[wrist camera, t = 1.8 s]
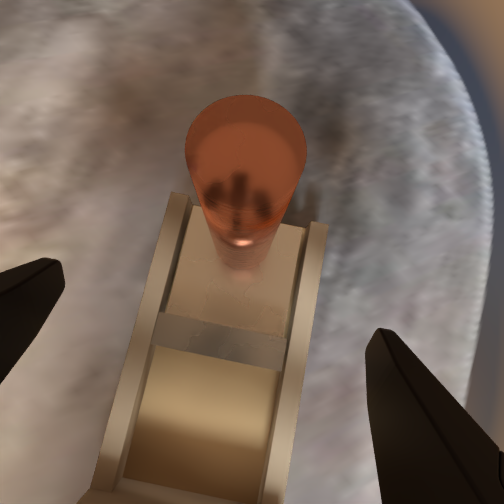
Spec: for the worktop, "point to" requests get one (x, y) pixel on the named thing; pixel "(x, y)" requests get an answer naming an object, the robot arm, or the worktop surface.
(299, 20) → the worktop surface
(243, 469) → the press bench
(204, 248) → the knobbed slide block
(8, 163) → the worktop surface
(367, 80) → the worktop surface
